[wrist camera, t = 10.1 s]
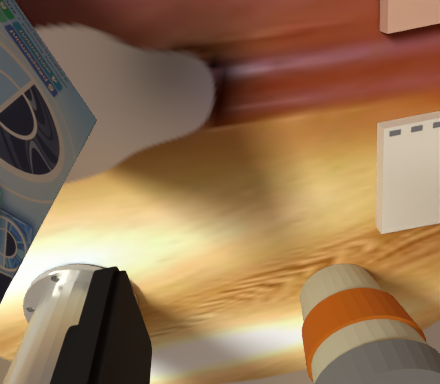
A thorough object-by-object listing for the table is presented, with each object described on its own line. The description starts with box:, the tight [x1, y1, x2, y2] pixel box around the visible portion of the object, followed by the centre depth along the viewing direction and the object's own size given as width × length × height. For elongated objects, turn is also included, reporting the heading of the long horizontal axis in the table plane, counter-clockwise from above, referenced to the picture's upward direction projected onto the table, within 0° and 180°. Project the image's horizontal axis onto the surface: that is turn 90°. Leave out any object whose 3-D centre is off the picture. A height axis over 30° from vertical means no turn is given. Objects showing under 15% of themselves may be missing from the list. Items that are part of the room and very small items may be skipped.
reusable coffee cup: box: [300, 264, 440, 384], centre depth 42 cm, size 13×12×15 cm
